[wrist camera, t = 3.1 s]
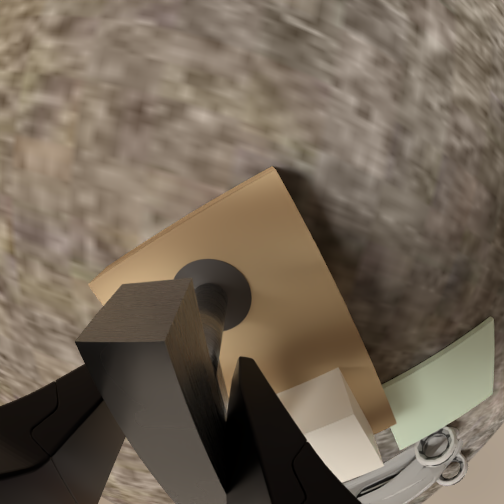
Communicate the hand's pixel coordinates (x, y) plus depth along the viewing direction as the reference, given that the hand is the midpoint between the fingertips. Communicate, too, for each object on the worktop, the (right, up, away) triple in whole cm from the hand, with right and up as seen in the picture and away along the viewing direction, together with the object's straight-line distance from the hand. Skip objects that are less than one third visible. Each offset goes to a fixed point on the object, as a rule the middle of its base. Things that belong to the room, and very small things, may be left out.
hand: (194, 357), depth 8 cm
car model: (+11, -21, +14) cm, 28 cm away
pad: (+15, -7, +9) cm, 19 cm away
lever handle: (0, -1, +4) cm, 4 cm away
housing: (+2, -2, +7) cm, 8 cm away
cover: (+4, -6, +6) cm, 10 cm away
